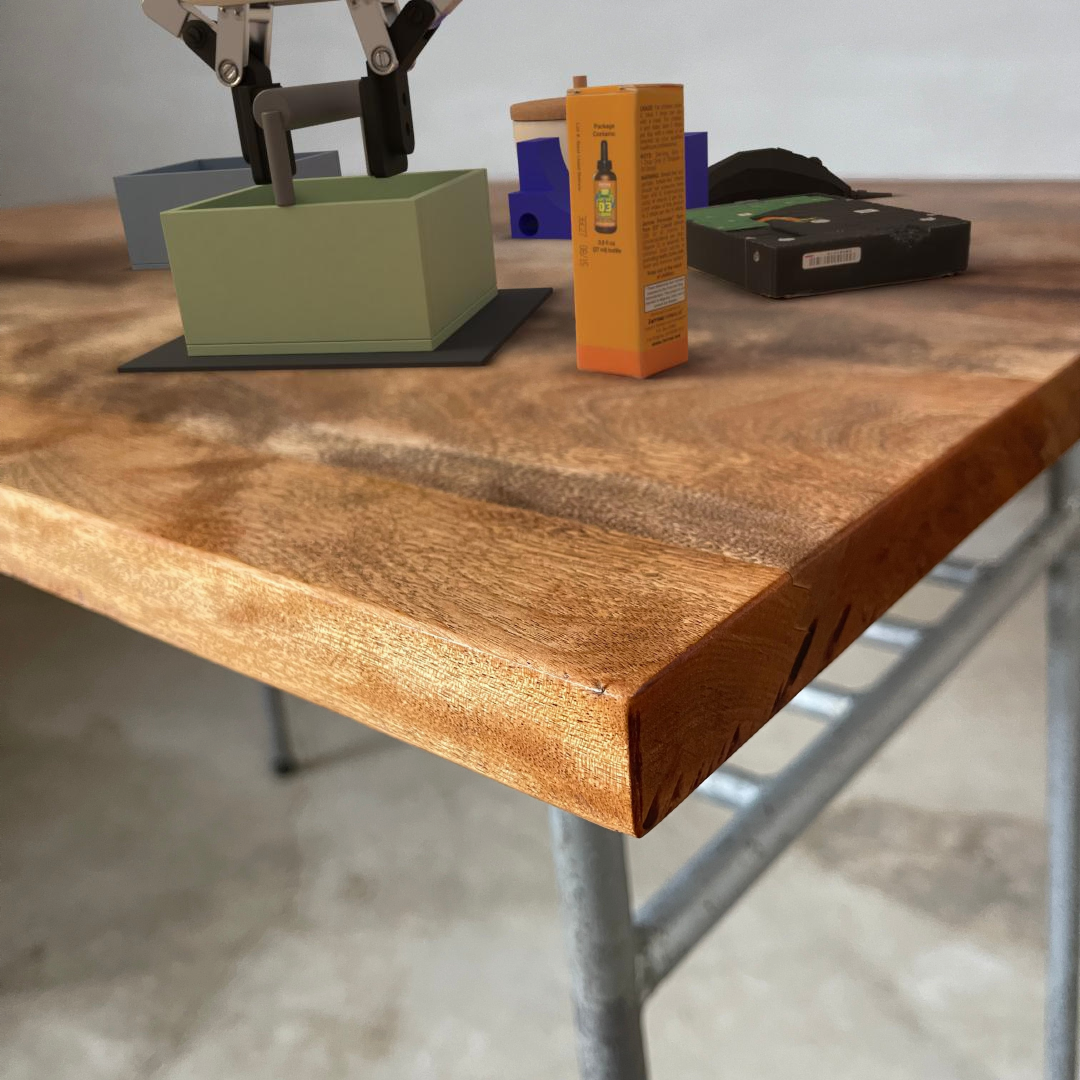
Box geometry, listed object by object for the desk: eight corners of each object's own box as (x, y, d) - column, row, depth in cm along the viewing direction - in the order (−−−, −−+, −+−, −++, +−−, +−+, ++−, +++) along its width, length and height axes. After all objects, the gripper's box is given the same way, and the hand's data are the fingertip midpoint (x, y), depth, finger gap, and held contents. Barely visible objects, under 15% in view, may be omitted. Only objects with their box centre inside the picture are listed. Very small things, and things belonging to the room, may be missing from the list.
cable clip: (511, 240, 73) (504, 144, 71) (545, 229, 77) (539, 137, 74) (680, 243, 68) (678, 138, 65) (708, 231, 71) (707, 131, 69)
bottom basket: (132, 272, 73) (112, 176, 71) (211, 243, 83) (195, 159, 80) (288, 266, 71) (272, 167, 68) (350, 237, 80) (338, 150, 78)
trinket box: (498, 219, 83) (486, 84, 80) (543, 199, 93) (535, 77, 89) (637, 215, 80) (631, 74, 76) (670, 194, 89) (666, 67, 85)
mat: (118, 376, 47) (116, 367, 47) (260, 304, 60) (259, 296, 59) (482, 370, 44) (481, 360, 43) (553, 295, 56) (552, 287, 56)
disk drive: (973, 280, 53) (815, 237, 66) (978, 219, 51) (816, 187, 65) (774, 309, 50) (651, 258, 63) (775, 246, 49) (649, 207, 62)
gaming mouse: (903, 204, 75) (907, 141, 74) (683, 220, 76) (682, 158, 74) (880, 193, 81) (882, 135, 79) (675, 208, 82) (674, 151, 80)
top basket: (186, 357, 48) (133, 99, 44) (293, 300, 58) (258, 86, 54) (431, 352, 45) (400, 79, 41) (498, 294, 55) (479, 69, 51)
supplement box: (697, 362, 42) (692, 78, 38) (643, 384, 40) (631, 85, 36) (628, 352, 45) (616, 82, 41) (572, 373, 42) (554, 89, 38)
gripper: (-2, -326, 40) (113, 199, 47) (449, -405, 36) (499, 177, 44) (113, -275, 47) (198, 178, 54) (504, -338, 43) (539, 158, 50)
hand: (332, 173), depth 49 cm, fingers open, 4 cm apart
